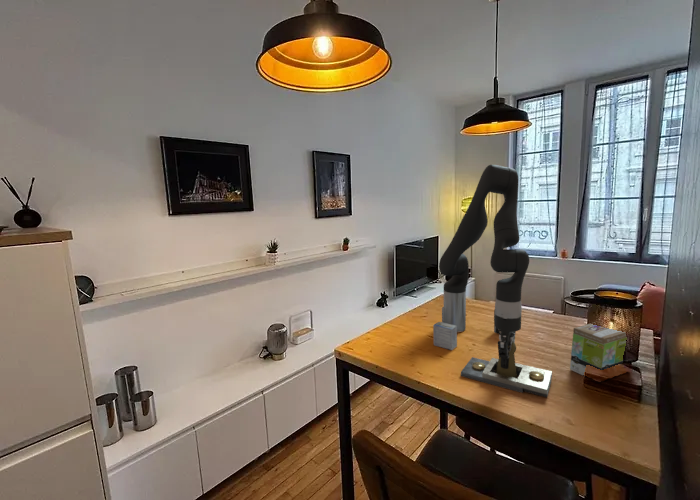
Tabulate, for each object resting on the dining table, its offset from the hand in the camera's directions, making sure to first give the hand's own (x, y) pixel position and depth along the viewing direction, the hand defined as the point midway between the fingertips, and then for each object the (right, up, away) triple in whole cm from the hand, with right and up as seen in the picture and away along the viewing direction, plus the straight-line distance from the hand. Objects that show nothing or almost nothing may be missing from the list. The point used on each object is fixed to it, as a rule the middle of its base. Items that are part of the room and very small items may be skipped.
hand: (506, 364), depth 110 cm
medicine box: (-12, -1, +26) cm, 28 cm away
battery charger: (+15, +1, +35) cm, 38 cm away
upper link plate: (+3, -5, -1) cm, 6 cm away
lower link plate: (-3, -4, +3) cm, 6 cm away
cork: (0, -3, +1) cm, 3 cm away
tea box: (+31, -3, +2) cm, 32 cm away
